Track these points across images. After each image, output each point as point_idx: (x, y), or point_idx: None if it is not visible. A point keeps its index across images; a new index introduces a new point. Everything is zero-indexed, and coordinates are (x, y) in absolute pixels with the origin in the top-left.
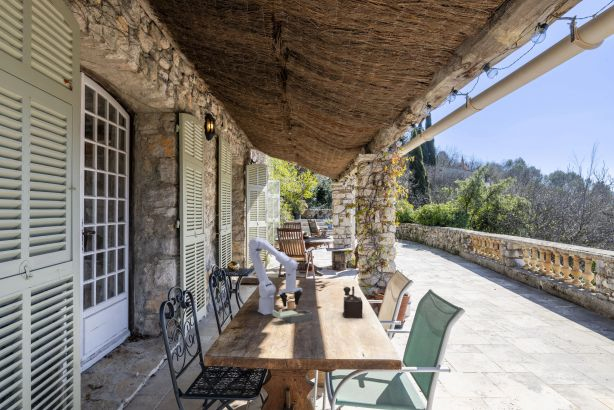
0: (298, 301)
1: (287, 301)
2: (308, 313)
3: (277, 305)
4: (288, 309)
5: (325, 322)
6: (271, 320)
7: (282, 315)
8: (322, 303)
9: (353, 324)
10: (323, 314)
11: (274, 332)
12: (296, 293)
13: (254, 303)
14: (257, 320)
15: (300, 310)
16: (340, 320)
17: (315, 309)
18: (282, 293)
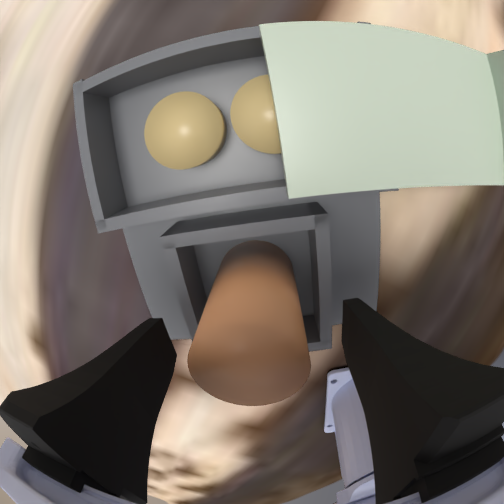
0: (119, 340)
1: (291, 393)
2: (115, 69)
3: (248, 453)
4: (294, 287)
5: (74, 16)
6: (451, 219)
7: (466, 62)
8: (32, 374)
9: (9, 3)
10: (19, 199)
11: (478, 6)
12: (102, 464)
13: (330, 476)
14: (498, 262)
15: (152, 219)
16: (4, 58)
17: (49, 320)
18: (495, 462)
